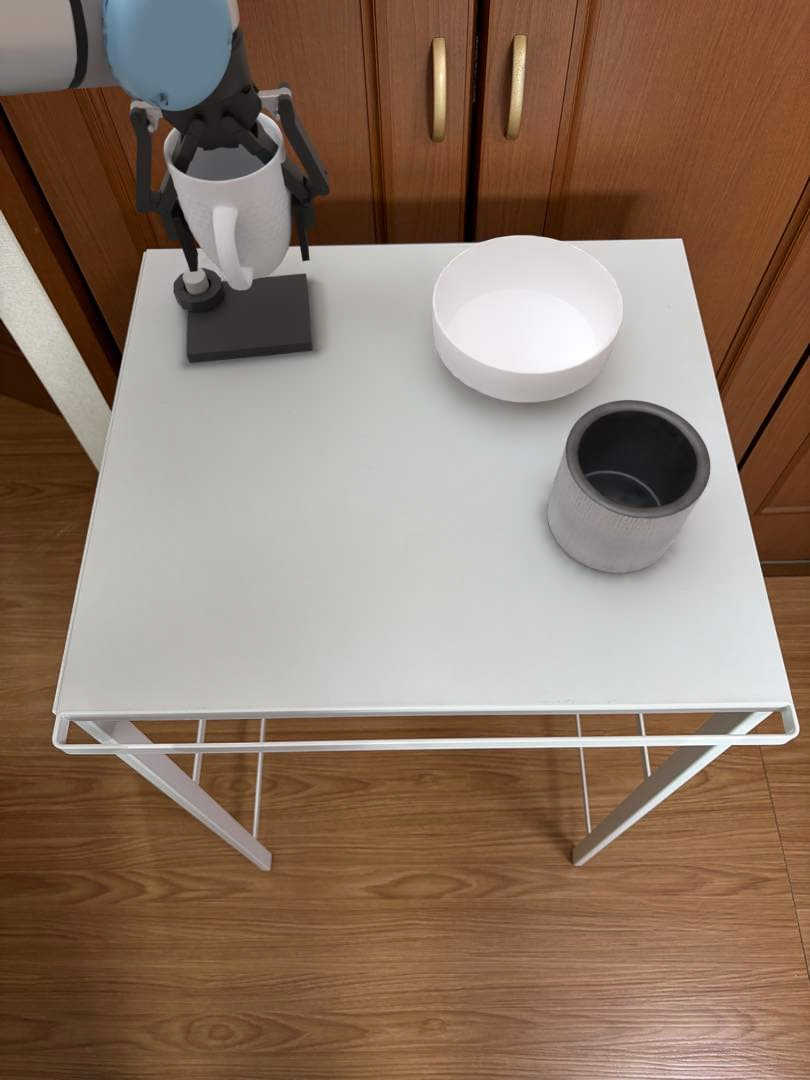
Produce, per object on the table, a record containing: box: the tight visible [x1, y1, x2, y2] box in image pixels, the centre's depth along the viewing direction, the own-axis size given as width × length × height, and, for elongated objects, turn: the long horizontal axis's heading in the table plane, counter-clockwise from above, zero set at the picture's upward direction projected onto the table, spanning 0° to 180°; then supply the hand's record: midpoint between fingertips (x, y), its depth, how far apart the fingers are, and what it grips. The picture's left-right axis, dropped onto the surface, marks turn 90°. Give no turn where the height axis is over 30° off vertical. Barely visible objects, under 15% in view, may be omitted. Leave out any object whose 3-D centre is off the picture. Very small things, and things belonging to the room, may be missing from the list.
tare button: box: [183, 267, 209, 295], centre depth 86 cm, size 3×3×2 cm
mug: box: [163, 112, 295, 290], centre depth 72 cm, size 15×11×13 cm
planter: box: [546, 399, 711, 574], centre depth 69 cm, size 12×13×11 cm
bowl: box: [431, 235, 625, 403], centre depth 80 cm, size 20×20×8 cm
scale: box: [172, 267, 314, 364], centre depth 86 cm, size 15×12×3 cm
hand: (250, 257), depth 78 cm, fingers closed on mug, 11 cm apart
